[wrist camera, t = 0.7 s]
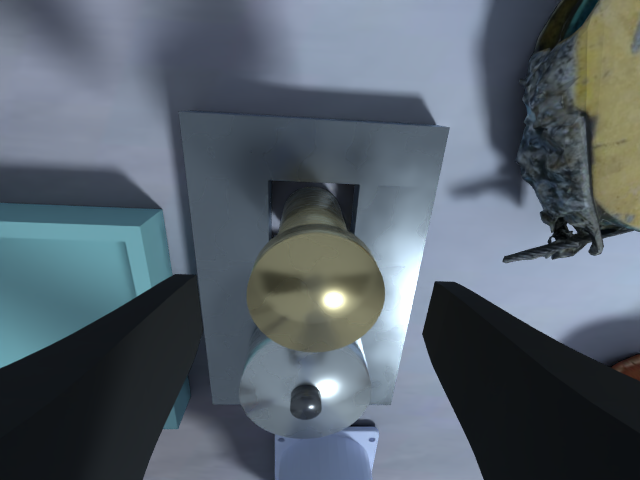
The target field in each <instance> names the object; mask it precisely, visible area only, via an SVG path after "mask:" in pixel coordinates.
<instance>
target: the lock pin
mask: <svg viewBox="0 0 640 480" xmlns="http://www.w3.org/2000/svg"><path fill="white" fill-rule="evenodd" d="M384 301H385V285H384V281H383V277H382V275H381V272H380V270H379V267H378V265H377V263H376V261H375V258H374V256H373V254H372V253H371V251H370V249H369V248H368V247H367V246H366V244H365V243H364V242H363V241H362V240H360V239H359V238H358V237H357V236H355V235H354V234H352V233H351V232H349V231H347V228H346V225H345V222H344V218H343V215H342V212H341V209H340V206H339V203H338V201H337V200H336V198H335V197H334V196H333V195H332V194H331V193H330V192H328V191H327V190H325V189H322V188H319V187H305V188H301V189H299V190H297V191H295V192H294V193H293V194H291V195H290V196H289V198H288V199H287V201H286V202H285V205H284V208H283V212H282V217H281V222H280V227H279V232H278V235H276V236H275V237H274V238H273V239H271V240H270V241H269V242H268V243H267V244H266V245H265V246H264V247H263V249H262V250H261V251H260V253H259V254H258V256H257V258H256V260H255V263H254V266H253V269H252V272H251V275H250V278H249V282H248V286H247V306H248V309H249V313H250V315H251V317H252V319H253V321H254V322H255V324H256V326H257V327H258V328H259V329H260V330H261V332H262V333H264V334H265V335H266V336H267V337H268V338H270V339H271V340H272V341H274V342H276V343H278V344H279V345H281V346H284V347H286V348H289V349H293V350H296V351H302V352H326V351H332V350H336V349H339V348H342V347H345V346H347V345H349V344H351V343H353V342H355V341H356V340H358V339H360V338H361V337H362V336H363V335H365V334H366V333H367V332H368V331H369V330H370V329H371V328H372V327H373V325H374V324H375V323H376V321H377V319H378V318H379V316H380V314H381V311H382V309H383V305H384Z"/></svg>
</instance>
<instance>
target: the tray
mask: <svg viewBox="0 0 640 480" xmlns="http://www.w3.org/2000/svg"><path fill="white" fill-rule="evenodd" d="M171 276H172V269H171V263H170V256H169V250H168V243H167V237H166V230H165V224H164V217H163V211H162V209H143V208H117V207H92V206H67V205H42V204H17V203H0V368H2V367H4V366H7V365H9V364H11V363H13V362H15V361H18V360H20V359H22V358H24V357H26V356H28V355H30V354H32V353H35V352H37V351H39V350H41V349H43V348H45V347H47V346H49V345H51V344H53V343H55V342H57V341H59V340H61V339H63V338H65V337H67V336H69V335H71V334H73V333H74V332H76V331H78V330H80V329H82V328H83V327H85V326H87V325H89V324H91V323H92V322H94V321H96V320H98V319H100V318H101V317H103V316H105V315H107V314H109V313H110V312H112V311H114V310H115V309H117V308H119V307H120V306H122V305H124V304H125V303H127V302H129V301H130V300H132V299H134V298H135V297H137V296H139V295H140V294H142V293H144V292H145V291H147V290H148V289H150V288H152V287H153V286H155V285H157V284H158V283H160V282H162V281H163V280H165V279H167V278H169V277H171ZM190 397H191V392H190V386H189V379H188V375H187V377H186V379H185V382H184V384H183V386H182V388H181V390H180V393H179V395H178V397H177V399H176V401H175V403H174V406H173V408H172V410H171V412H170V414H169V416H168V419H167V421H166V423H165V425H164V427H163V429H178V428H179V425H180V423H181V420H182V418H183V415H184V412H185V410H186V407H187V405H188V402H189V400H190Z"/></svg>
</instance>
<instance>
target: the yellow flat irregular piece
mask: <svg viewBox="0 0 640 480" xmlns="http://www.w3.org/2000/svg"><path fill="white" fill-rule="evenodd" d="M519 83H520V84H521V85H522V86H523V87H524V88H525V93H524V96H523V99H522V100H523V102H524V104H525V105H526V107H527V117H526V119H525V121H524V123H525V124H527V126H526V127H525V129H524V131H523V138H522V140H521V142H520V147H519V150H518V154H517V157H516V160H515V162H517V163H518V164H519V165H520V167H521V174H522V178H523V179H524V180H525V181H526V182H527V183H529V184H530V185H531V186H532V187H533V189H534V190H535V193H536V195H537V197H538V199H539V201H540V203H541V205H542V207H543V211H541V212H540V216H541V220H542V221H543V222H544V223H545V224H547V225H549V226H550V229H551V233H552V232H553V235H552V236H551V237H554V238H555V240H556V241H554V242H552V243H551V237H550V238H549V240H548V244H547V245H543V246H540V247H536V248H532V249H529V250H525V251H522V252H518V253H515V254H512V255H508V256H505V257H504V259H503V262H504V263H509V262H513V261H520V260H533V259H536V258H538V257H545V258H546V259H547V258H548V257H550V256H551V255H552V257H551V258H552V260H553V259H557V258H565V257H570V256H574V255H575V254H576V253H577V252H578V251H579V250H581V249H582V248H583V247H584V246H585V245H586V244H587V243H590V242H592V245H591V247H590V249H589V253H590V254H591V255H594V256H595V255H599V254H601V253H602V250H603V247H604V245H603V240H602V239H603V238H606V237H611V236H615V235H619V234H623V233H627V232H631V231H634V230H635V231H639V232H640V0H561V2H560V3H559V4H558V6H557V7H556V9H555V11H554V12H553V14H552V16H551V17H550V19H549V20H548V22H547V24H546V25H545V27H544V28H543V30H542V32H541V33H540V35H539V37H538V40H537V44H536V47H535V51H534V53H533V55H532V57H531V58H530V60H529V63H528V72H527V78H526V79H525V80H523V79H520V80H519ZM567 223H569V224H570V225H572V226H573V227H574V228H575V229H576V231H577V234H572V233H573V231H569V230H568V227H567V225H566V224H567Z"/></svg>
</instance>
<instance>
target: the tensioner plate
mask: <svg viewBox="0 0 640 480" xmlns="http://www.w3.org/2000/svg"><path fill="white" fill-rule="evenodd" d="M179 120H180V129H181V137H182V146H183V154H184V163H185V172H186V180H187V189H188V197H189V206H190V214H191V223H192V232H193V240H194V249H195V257H196V266H197V274H198V283H199V292H200V300H201V309H202V317H203V326H204V334H205V343H206V352H207V360H208V369H209V377H210V386H211V394H212V403H213V404H221V405H241V406H242V408H243V410H244V412H245V413H246V415H247V416H248V417H249V418H250V419H251V420H252V421H253V422H254V423H255V424H256V425H258V426H259V427H261V428H262V429H264V430H266V431H268V432H270V433H273V434H276V435H279V436H283V437H288V438H295V439H311V438H319V437H324V436H328V435H331V434H334V433H336V432H339V431H341V430H343V429H345V428H347V427H348V426H350V425H351V424H353V423H354V422H355V421H356V420H357V419H359V418H360V416H361V415H362V414H363V413H364V411H365V410H366V408H367V407H368V405H391V402H392V397H393V392H394V388H395V383H396V378H397V373H398V369H399V364H400V359H401V355H402V350H403V345H404V340H405V336H406V331H407V326H408V322H409V317H410V312H411V307H412V303H413V298H414V293H415V289H416V284H417V279H418V274H419V270H420V265H421V260H422V256H423V251H424V246H425V241H426V237H427V232H428V227H429V223H430V218H431V213H432V208H433V204H434V199H435V194H436V190H437V185H438V180H439V175H440V171H441V166H442V161H443V157H444V152H445V147H446V142H447V138H448V133H449V127H444V126H439V125H427V124H410V123H393V122H376V121H359V120H342V119H325V118H308V117H291V116H274V115H257V114H240V113H223V112H206V111H180V112H179ZM271 180H275V181H296V182H318V183H340V184H355V187H354V197H353V207H352V216H351V226H350V232H351V233H352V234H354V235H355V236H357V237H358V238H359V239H360V240H362V241H363V242H364V243H365V244H366V246H367V247H368V248H369V249H370V251H371V253H372V254H373V256H374V258H375V261H376V263H377V265H378V267H379V270H380V272H381V275H382V277H383V281H384V285H385V301H384V305H383V309H382V311H381V314H380V316H379V318H378V319H377V321H376V323H375V324H374V325H373V327H372V328H371V329H370V330H369V331H368V332H367V333H366V334H365V335H363V336H362V337H361V338H360V339H358V340H356V341H355V342H353V343H351V344H349V345H347V346H345V347H342V348H339V349H336V350H332V351H326V352H302V351H296V350H293V349H289V348H286V347H284V346H281V345H279V344H278V343H276V342H274V341H272V340H271V339H270V338H268V337H267V336H266V335H265V334H264V333H262V332H261V330H260V329H259V328H258V327H257V326H256V324H255V322H254V321H253V319H252V317H251V315H250V313H249V309H248V306H247V286H248V282H249V278H250V275H251V272H252V269H253V266H254V263H255V260H256V258H257V256H258V254H259V253H260V251H261V250H262V249H263V247H264V246H265V245H266V244H267V243H268V242H269V241H270V240H271V239H272V205H271Z"/></svg>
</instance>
